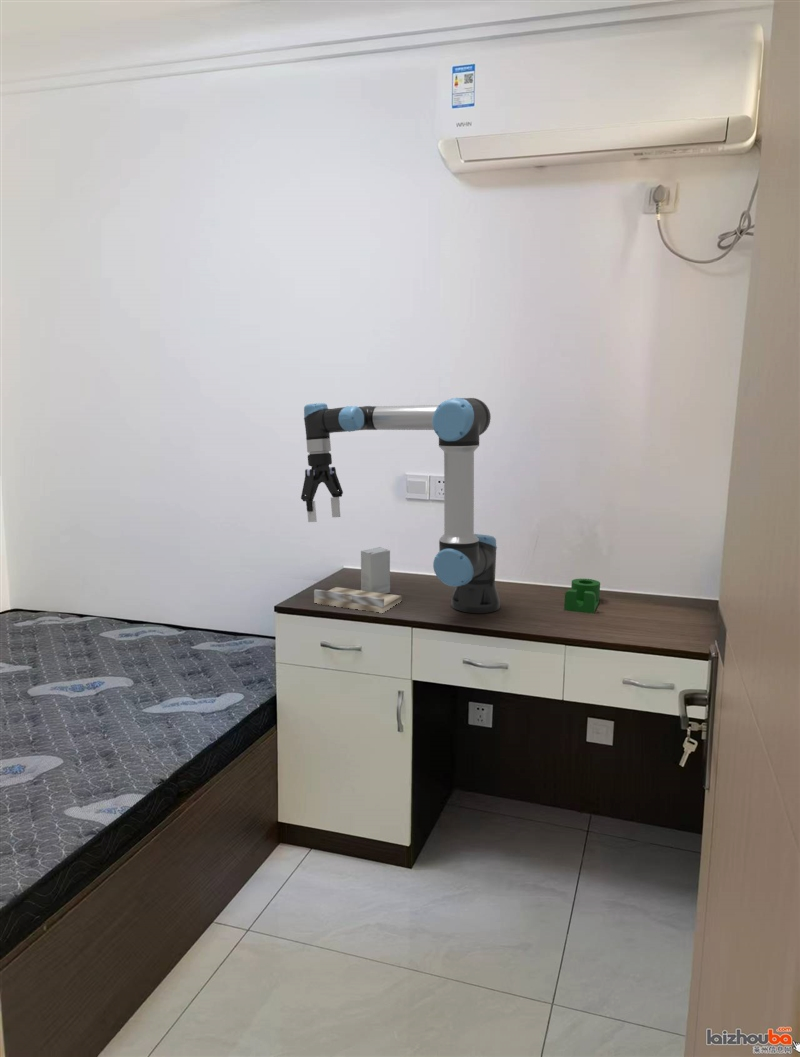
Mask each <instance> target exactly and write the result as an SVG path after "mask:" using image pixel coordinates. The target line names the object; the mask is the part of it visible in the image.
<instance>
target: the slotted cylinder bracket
mask: <svg viewBox="0 0 800 1057" xmlns="http://www.w3.org/2000/svg"><path fill="white" fill-rule="evenodd" d="M570 584H571V588H569V589H567V591H566V592H565V593H564V605H563V606H564V607H563V610H564V611H569V612H577V613H586V614H595V611H596V610H597V608H598V605H599V603H600V593H601V591H600V590H601V582H600V581H599V580H596V579H592V578H591V579H590V578H575V579H572V580H571V583H570Z"/></svg>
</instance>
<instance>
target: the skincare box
mask: <svg viewBox="0 0 800 1057" xmlns="http://www.w3.org/2000/svg"><path fill="white" fill-rule="evenodd" d="M360 590H362V591H369V592H377V593H384V594H389V593H391V549H386V548H384V547H381V546H379V547H373V548H369V549H368V548H367V549H363V550H360Z"/></svg>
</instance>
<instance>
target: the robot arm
mask: <svg viewBox="0 0 800 1057" xmlns="http://www.w3.org/2000/svg"><path fill="white" fill-rule="evenodd" d="M303 416H304V417H303V421H304V428H305V440H306V452H307V453H309V454H308V455H307V464H308V467H311V468H308V469H307V468H305V470H304V481H303V485H302V490H301V496H300V499H301V501H302V502H305V504H306V505H305V506H306V511H307V522H308V523H317V509H316V501H315V500H314V499H315V496H316V493H317V490H318V487H319V486H320V484H321V483H323V484H324V485H325V486H326V488H327V490H328V492H329V493H330V495H331V497H330V506H331V518H341V506H340V498H341V497H342V496H343V494H344V491H343V489H342V486H341V483H340V480H339V478H338V474H337V471H336V470H337V469H336V467H335V466H330V465H332V464H333V460H332V458H333V457H332V453H331V451H332V448H331V447H332V446H331V436H330V434H333V433H345V432H347V433H348V432H349V433H352V432H356V431H377V430H378V431H379V430H380V431H383V430H384V431H390V430H391V431H394V430H395V431H398V430H399V431H405V430H406V431H411V430H412V431H434V433H435V434H436V435H437V437H438V448H440V450H442V451H443V453H444V454H443V458H444V460H443V462H444V463H443V466H444V467H443V470H444V471H443V480H444V481H443V483H444V484H443V488H444V490H443V491H444V492H443V494H444V495H443V496H444V497H443V500H444V501H443V504H444V507H443V509H444V510H443V511H444V512H443V513H444V514H443V515H444V519H443V520H444V521H443V522H444V523H443V524H444V527H443V529H444V530H443V531H444V533H443V535H441V537H439V540H438V544H439V545H438V546H439V550H438V552H437V554H436V555H435V557H434V559H433V562H432V564H433V565H432V566H433V572H434V574H435V575H436V577H437V578H438V580H439V581H440V582H442V583H443V584H444V585H446V586H449V587H455V589H454V591H453V594H452V597H451V603H450V604H451V605H450V606H451V607H452V608H453V609H454V610H457V611H460V612H464V613H470V614H471V613H472V614H487V613H492V612H496V611H498V610H500V608H501V606H500V605H501V601H500V596H499V592H498V590H497V586H496V565H497V564H496V563H497V550H498V549H497V548H498V547H497V538H495V537H494V536H492V535H488V534H479V533H477V534H476V533H475V532H474V531H475V530H474V527H475V524H474V522H475V521H474V520H475V517H474V516H475V510H474V509H475V508H474V506H475V504H474V502H475V500H474V499H475V494H474V493H475V451H476V450H477V449H478V448H479V447H480V436H482V435H483V434H484V433H485V432H486V431H487V430H488V428H489V427H490V424H491V412H490V409H489V407H488V405H487V404H486V403H485V402H483V401H482V400H480V399H478V398H475V397H467V398H466V397H455V398H454V397H453V398H450V399H447V400H444V401H443V402H440V404H438V405H437V404H435V405H433V404H431V405H430V404H429V405H427V404H426V405H425V404H424V405H423V404H422V405H389V406H388V405H383V406H382V405H380V406H378V405H377V406H375V405H374V406H373V405H372V406H371V405H364V406H357V405H356V406H355V405H354V406H353V405H350V406H348V405H347V406H343V407H333V408H328V405H327V403H324V402H323V403H322V402H321V403H320V402H318V403H317V402H316V403H309V404H306V405H304V407H303Z"/></svg>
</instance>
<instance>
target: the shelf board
mask: <svg viewBox="0 0 800 1057" xmlns="http://www.w3.org/2000/svg"><path fill="white" fill-rule="evenodd" d="M402 599H403V598H402V595H397V594H392V593H391V594H389V593H377V592H369V591H362V590H361V589H353V588H346V587H339V586H335V587H332V588H331V589H329V590H323V589H314V590H313V600H314V601H313V602H314V603H317V604H316V605H321V604H322V606H328V605H329V607H334V606H336V608H341V607H343V608H342V609H348V608H349V609H350V610H355V609H358V610H357V611H362V610H366V611H365V612H369V611H374V612H373V613H376V612H379V613H378V614H382V613H383V614H385V613H386V612H388V611H389V610H391V609H393V608H394V607H395V605H396V604H397V605H399V604H400V602H401V601H402ZM398 603H399V604H398ZM401 603H402V602H401ZM397 605H396V606H397ZM393 606H394V607H393ZM390 608H391V609H390ZM387 610H388V611H387ZM385 611H386V612H385Z"/></svg>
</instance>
